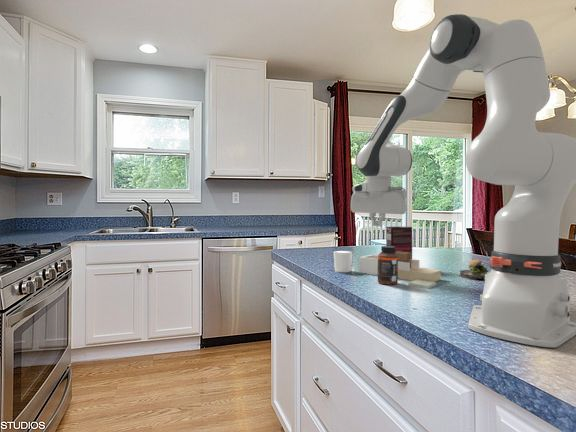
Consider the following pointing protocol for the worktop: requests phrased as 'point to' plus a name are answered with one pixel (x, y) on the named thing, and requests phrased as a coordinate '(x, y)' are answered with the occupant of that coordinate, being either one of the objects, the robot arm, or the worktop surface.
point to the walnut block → (404, 257)
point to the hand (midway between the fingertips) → (377, 226)
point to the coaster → (422, 283)
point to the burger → (474, 271)
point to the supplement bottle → (388, 266)
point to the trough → (400, 269)
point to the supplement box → (399, 238)
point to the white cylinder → (342, 261)
